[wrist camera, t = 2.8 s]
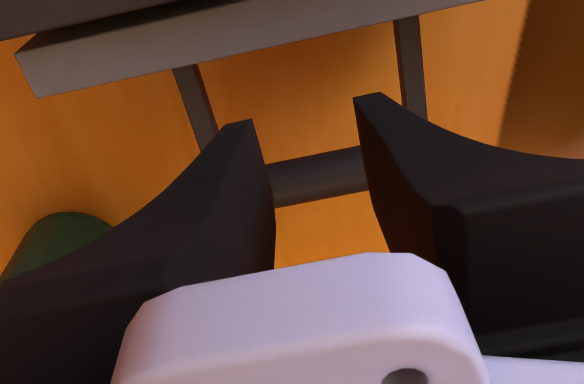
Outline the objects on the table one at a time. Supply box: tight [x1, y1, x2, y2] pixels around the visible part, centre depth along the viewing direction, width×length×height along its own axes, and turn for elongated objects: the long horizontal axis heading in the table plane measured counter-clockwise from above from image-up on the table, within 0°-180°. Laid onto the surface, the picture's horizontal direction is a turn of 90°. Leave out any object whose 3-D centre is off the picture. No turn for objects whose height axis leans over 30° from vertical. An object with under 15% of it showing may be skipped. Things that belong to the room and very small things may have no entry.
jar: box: [0, 212, 113, 287], centre depth 24 cm, size 5×5×5 cm
